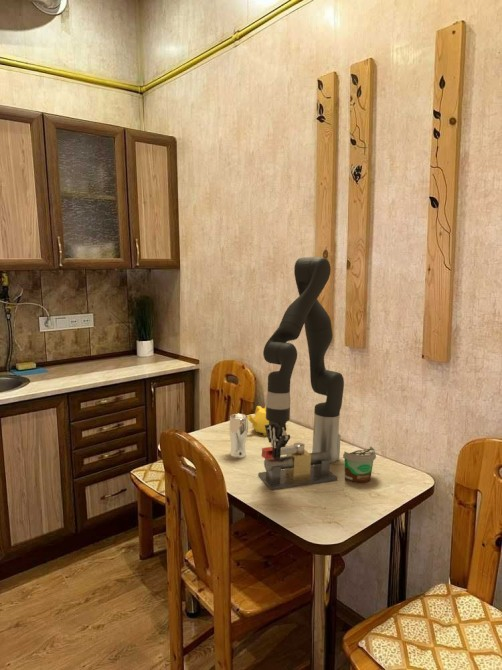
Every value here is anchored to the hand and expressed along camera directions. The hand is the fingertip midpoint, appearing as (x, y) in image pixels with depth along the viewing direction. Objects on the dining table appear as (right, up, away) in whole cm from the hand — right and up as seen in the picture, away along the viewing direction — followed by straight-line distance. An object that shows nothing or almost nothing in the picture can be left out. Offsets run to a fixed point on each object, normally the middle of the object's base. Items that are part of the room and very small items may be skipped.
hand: (276, 458), depth 148 cm
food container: (+29, -10, +8) cm, 32 cm away
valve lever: (+3, 0, +5) cm, 6 cm away
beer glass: (-13, -6, +26) cm, 30 cm away
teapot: (-1, -3, +52) cm, 52 cm away
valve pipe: (+8, -9, +8) cm, 14 cm away
